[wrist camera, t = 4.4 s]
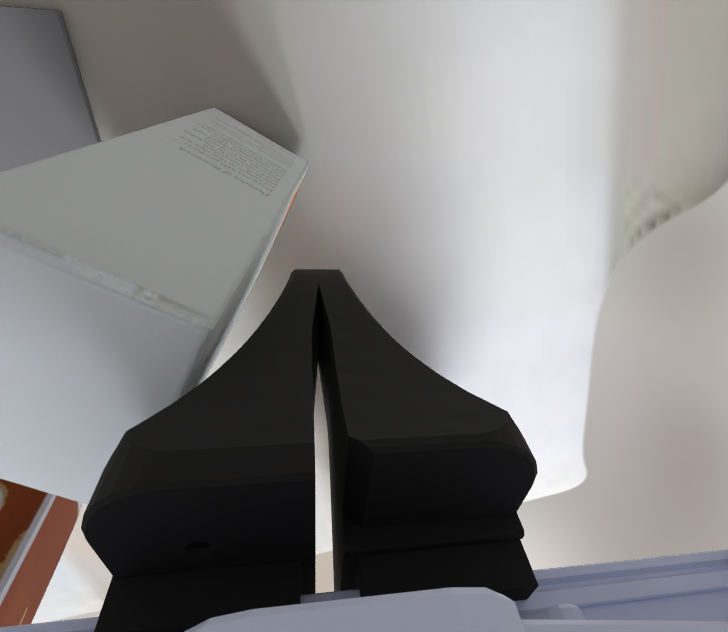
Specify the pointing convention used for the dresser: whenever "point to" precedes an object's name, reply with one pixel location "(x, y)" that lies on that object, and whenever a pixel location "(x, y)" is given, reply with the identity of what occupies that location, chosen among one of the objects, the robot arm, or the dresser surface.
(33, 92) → the rubber mat
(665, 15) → the dresser surface
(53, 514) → the cine camera
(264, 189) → the skincare box
